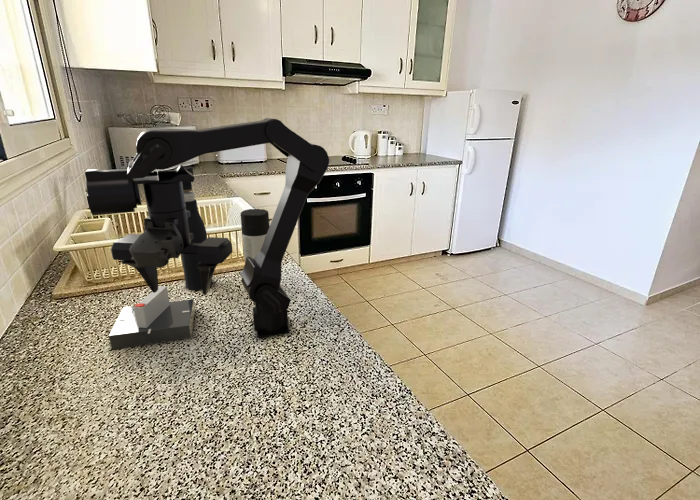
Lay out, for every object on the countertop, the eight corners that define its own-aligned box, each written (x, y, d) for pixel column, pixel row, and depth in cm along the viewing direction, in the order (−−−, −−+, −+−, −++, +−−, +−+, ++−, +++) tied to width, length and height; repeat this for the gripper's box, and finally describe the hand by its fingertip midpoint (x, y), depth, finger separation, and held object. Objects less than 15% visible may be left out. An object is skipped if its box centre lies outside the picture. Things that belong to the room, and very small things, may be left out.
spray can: (270, 293, 93) (265, 215, 86) (243, 292, 93) (236, 215, 86) (276, 281, 99) (271, 208, 92) (250, 280, 99) (244, 207, 92)
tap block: (195, 308, 85) (194, 296, 84) (190, 341, 74) (188, 327, 72) (127, 316, 81) (124, 304, 80) (110, 352, 70) (106, 338, 69)
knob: (162, 304, 81) (158, 284, 79) (170, 304, 81) (166, 285, 79) (137, 327, 72) (133, 306, 71) (146, 328, 72) (142, 306, 70)
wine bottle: (217, 283, 97) (204, 167, 86) (196, 292, 92) (179, 170, 81) (202, 277, 100) (186, 164, 90) (180, 286, 95) (162, 167, 85)
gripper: (76, 220, 54) (99, 313, 60) (201, 225, 54) (213, 319, 59) (123, 202, 65) (139, 282, 70) (229, 206, 64) (237, 287, 70)
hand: (180, 292), depth 67 cm, fingers open, 9 cm apart
